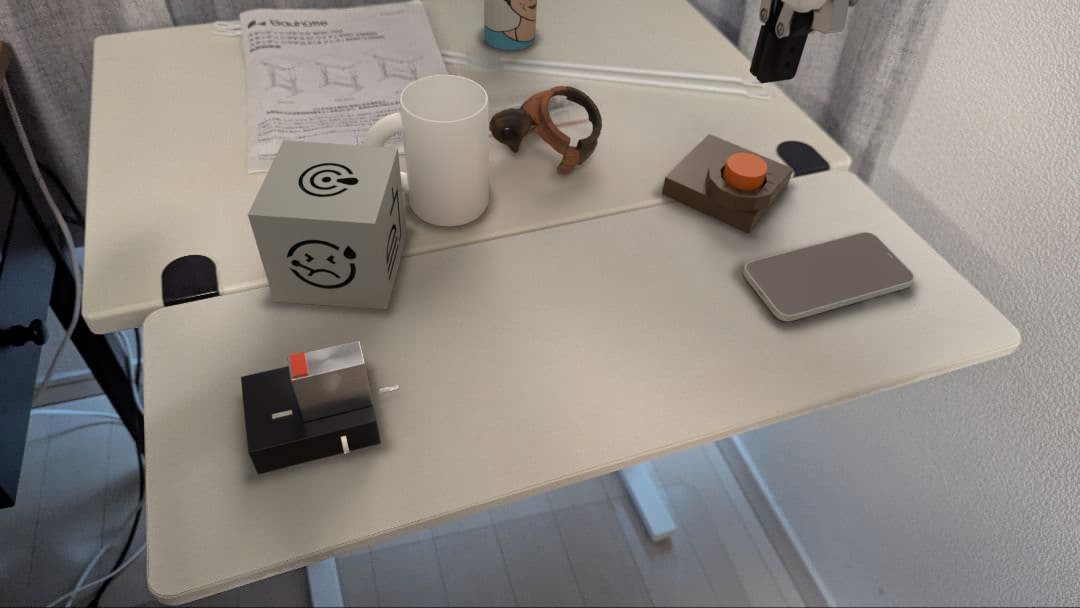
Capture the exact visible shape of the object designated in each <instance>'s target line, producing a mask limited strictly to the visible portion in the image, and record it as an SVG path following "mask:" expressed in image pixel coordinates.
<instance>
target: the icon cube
mask: <svg viewBox="0 0 1080 608" xmlns="http://www.w3.org/2000/svg"><path fill="white" fill-rule="evenodd" d="M400 171H401V165H400V155H399V148H398V147H389V146H387V147H386V146H383V147H375V146H363V145H359V144H346V143H334V142H333V143H332V142H331V143H329V142H319V141H305V140H303V141H302V140H291V139H290V140H289V139H283V140H282V142H281V145H280V146H279V148H278V151H277V153H276V155H275V157H274V159H273V161H272V163H271V165H270V167H269V169H268V171H267V174H266V175H265V178H264V180H263V182H262V184H261V186H260V188H259V190H258V192H257V194H256V195H255V199H254V200H253V203H252V204H251V207H250V209H249V211H248V213H247V218H248V220H249V224H250V227H251V230H252V233H253V237H254V240H255V244H256V247H257V250H258V253H259V257H260V260H261V264H262V266H263V270H264V273H265V276H266V280H267V283H268V287H269V290H270V293H271V296H272V300H273V302H276V303H289V304H302V305H303V304H304V305H317V306H330V307H345V308H360V309H373V310H385V311H387V310H388V309H389V306H390V301H391V299H392V294H393V290H394V287H395V282H396V278H397V274H398V269H399V266H400V262H401V259H402V255H403V250H404V246H405V243H406V239H407V234H408V231H407V223H406V214H405V213H406V212H405V201H404V193H403V191H402V183H401V173H400Z"/></svg>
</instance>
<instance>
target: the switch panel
mask: <svg viewBox="0 0 1080 608" xmlns="http://www.w3.org/2000/svg"><path fill="white" fill-rule="evenodd" d="M240 383H241V393H242V402H243V403H242V404H243V405H242V406H243V413H244V424H245V432H246V444H247V453H248V455H249V458H250V460H251V463H252V465H253V468H254V469H255V471H256V473H257V475H261V474H266V473H269V472H273V471H277V470H281V469H285V468H289V467H293V466H297V465H301V464H304V463H308V462H313V461H317V460H321V459H324V458H328V457H333V456H336V455H340V454H344V455H348V454H350V452H352V451H355V450H360V449H363V448H368V447H372V446H375V445H379V444H381V442H382V441H381V436H380V429H379V426H378V422H377V421H378V420H377V416H376V413H375V408H374V404H373V405H371V406H367V407H363V408H359V409H355V410H351V411H347V412H343V413H339V414H335V415H331V416H327V417H323V418H319V419H315V420H311V421H307V422H304V420H303V417H302V414H301V411H300V407H299V404H298V401H297V398H296V395H295V392H294V388H293V385H292V382H291V378H290V372H289V365H287V366H283V367H278V368H274V369H270V370H265V371H260V372H256V373H252V374H247V375H242V376H240ZM398 390H400V389H399V385H398V384H395V385H390V386H387V387H383V388H379V389H378V391H379V394H380V395H382V394H386V393H389V392H395V391H398Z"/></svg>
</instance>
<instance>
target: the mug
mask: <svg viewBox="0 0 1080 608" xmlns="http://www.w3.org/2000/svg"><path fill="white" fill-rule="evenodd" d="M398 100H399V101H398V102H399V112H394V113H391V114H388V115H386V116H384V117H382V118H380V119H379V120H378V121H376V122H375V123H374V124H373V125H372V126H371V127H370V129H368V132H367V133H366V135H365V137H364V139H363V143H362V146H375V147H385V144H386V143H387V142H388V141H389V140H390V139H392V138H393V137H394V136H396V135H399V134H402V140H403V151H404V152H403V153H404V161H405V171H406V172H404V171H401V170H400V173H401V183H402V192H404V193H408V200H409V205H410V208H411V211H412V212H413V213H414V214H415V215H416V217H418V218H419V219H420V220H422V222H423V221H424V222H425V223H427V224H431V225H434V226H438V227H459V226H463V225H467V224H469V223H472V222H474V221H476V220H477V219H478V218H480V217H481V216H482V215H483V214H484V213H485V211H486V210H487V208H488V206H489V203H490V181H489V179H490V173H489V171H490V168H489V167H490V165H489V164H490V163H489V162H490V161H489V160H490V159H489V158H490V157H489V156H490V155H489V154H490V153H489V152H490V151H489V148H490V147H489V143H490V141H489V140H490V139H489V133H490V132H489V131H490V129H489V123H490V120H489V97H488V94H487V92H486V90H485V88H484V87H483V86H481V84H479V83H478V82H476V81H475V80H472V79H469V78H467V77H464V76H460V75H454V74H435V75H434V74H433V75H429V76H425V77H421V78H418V79H416V80H414V81H412V82H410V83H409V84H407V85H406V87H405V88H403V90H402V92H401V94H400V96H399V99H398Z"/></svg>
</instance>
